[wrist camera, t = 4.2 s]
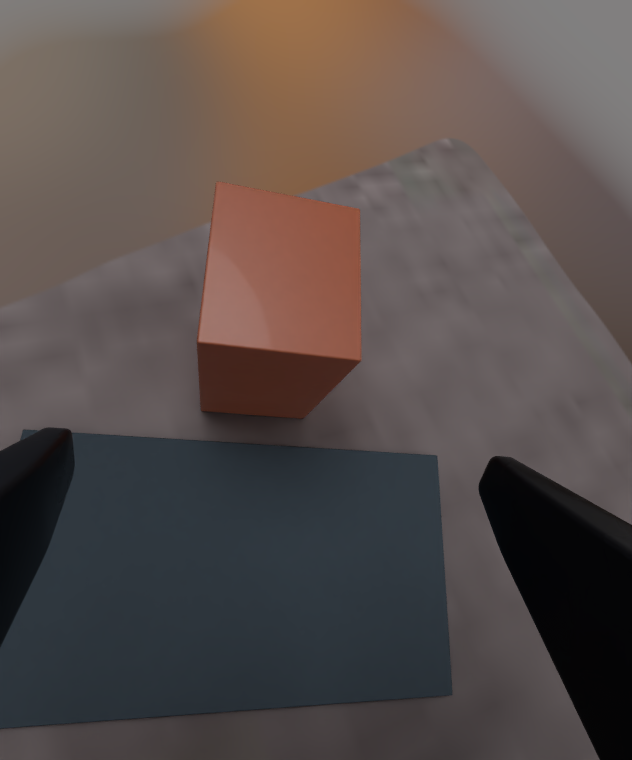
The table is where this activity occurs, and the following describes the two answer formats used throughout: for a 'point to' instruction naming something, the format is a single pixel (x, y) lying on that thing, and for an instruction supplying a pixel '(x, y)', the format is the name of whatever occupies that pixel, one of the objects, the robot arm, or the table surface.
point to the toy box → (277, 302)
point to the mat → (231, 584)
